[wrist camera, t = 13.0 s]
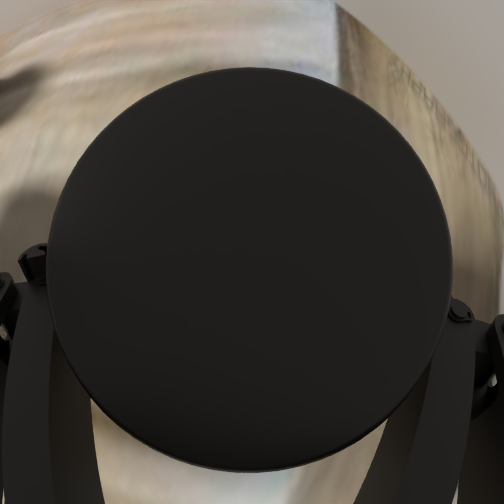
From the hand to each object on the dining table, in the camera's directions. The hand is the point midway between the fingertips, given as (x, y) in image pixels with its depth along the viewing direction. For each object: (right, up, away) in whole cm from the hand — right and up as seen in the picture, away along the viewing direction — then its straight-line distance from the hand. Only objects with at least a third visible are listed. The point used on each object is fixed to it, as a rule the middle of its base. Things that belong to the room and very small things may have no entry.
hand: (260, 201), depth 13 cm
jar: (0, -4, +4) cm, 6 cm away
